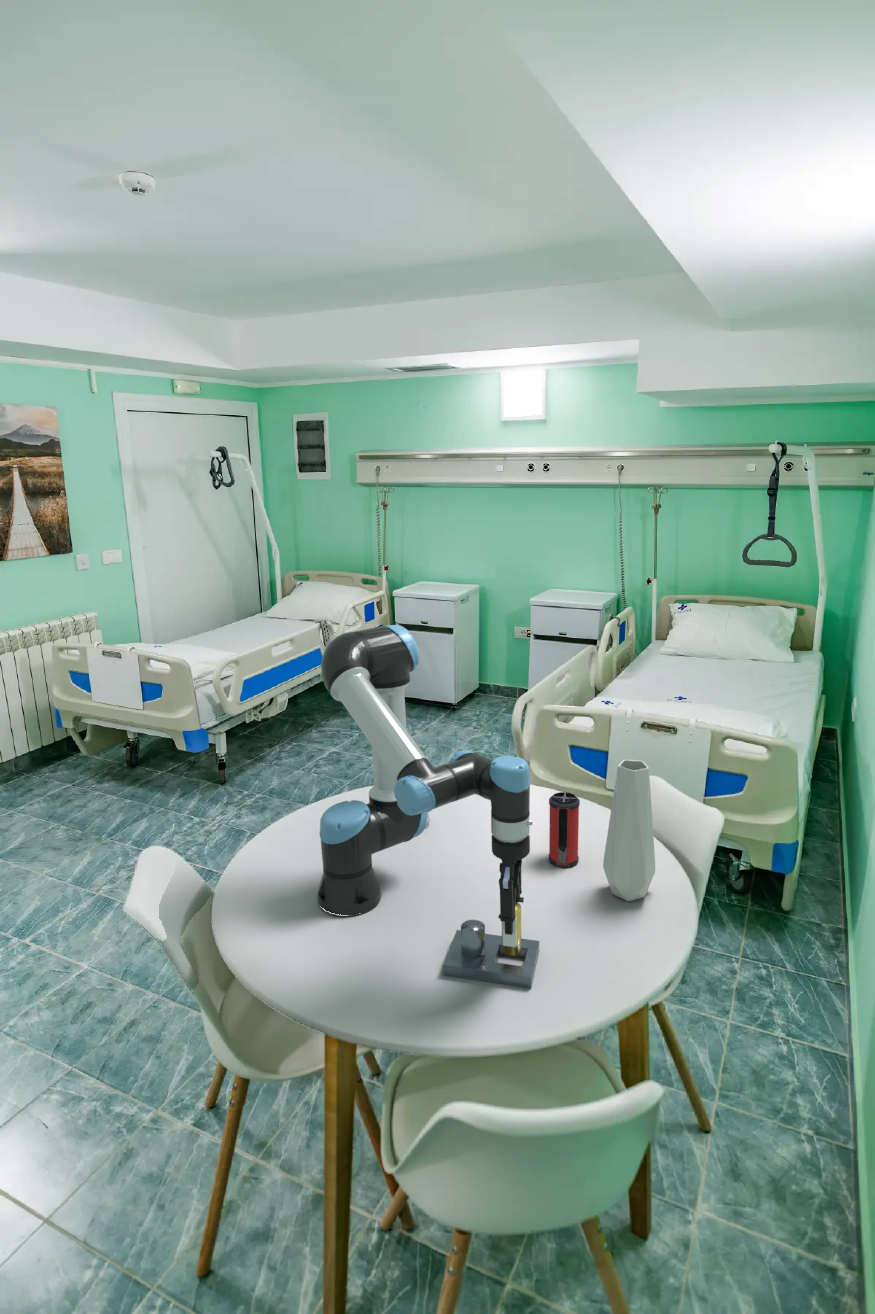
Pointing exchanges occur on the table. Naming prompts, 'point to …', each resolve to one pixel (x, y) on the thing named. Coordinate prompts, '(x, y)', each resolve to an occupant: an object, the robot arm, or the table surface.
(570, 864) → the speaker
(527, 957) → the gray peg plate
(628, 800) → the vase
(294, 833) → the table surface
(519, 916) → the round pin
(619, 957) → the table surface
